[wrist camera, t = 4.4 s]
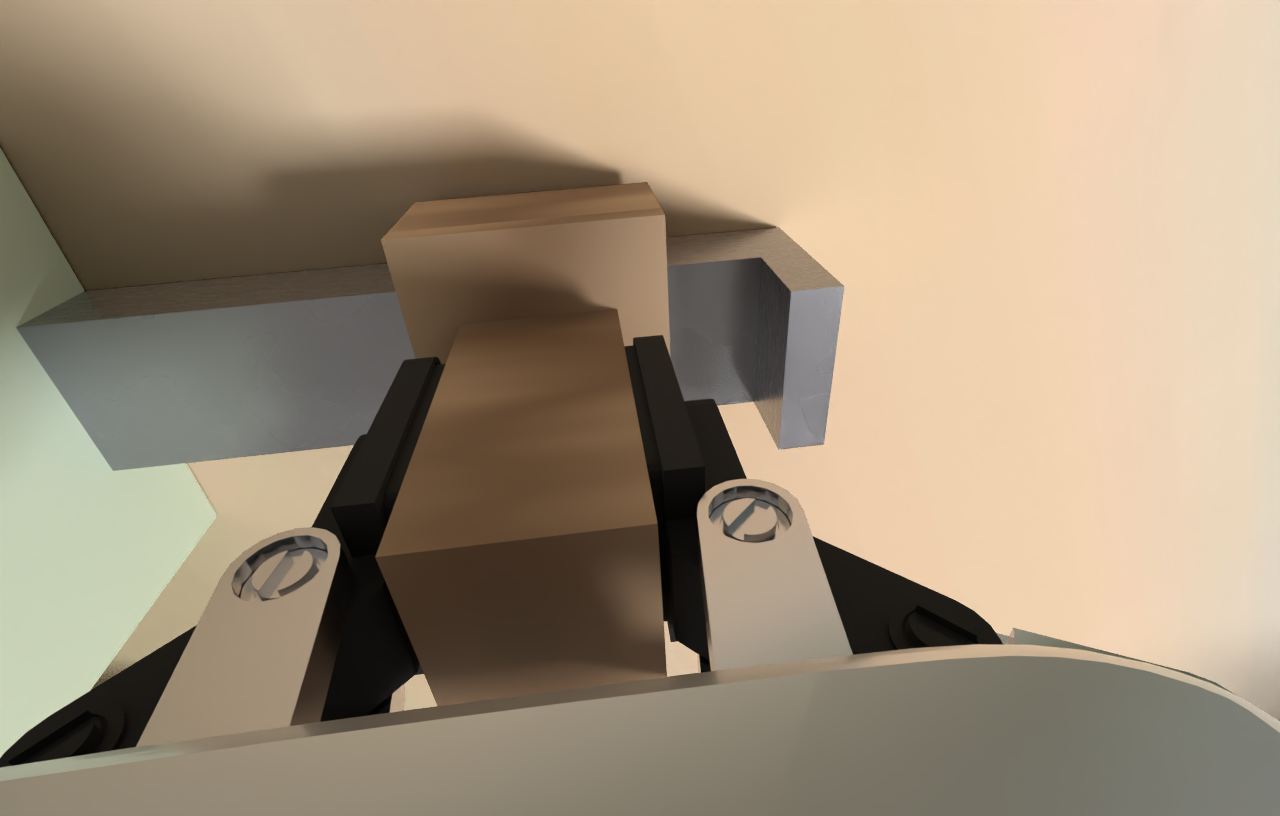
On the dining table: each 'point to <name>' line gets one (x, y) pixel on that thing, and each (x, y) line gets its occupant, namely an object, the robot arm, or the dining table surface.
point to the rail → (401, 351)
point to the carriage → (529, 442)
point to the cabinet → (68, 504)
